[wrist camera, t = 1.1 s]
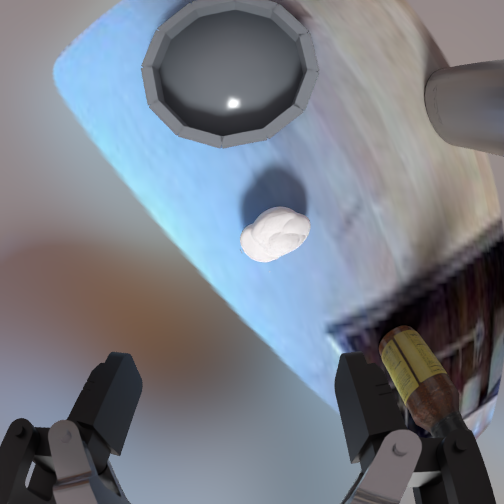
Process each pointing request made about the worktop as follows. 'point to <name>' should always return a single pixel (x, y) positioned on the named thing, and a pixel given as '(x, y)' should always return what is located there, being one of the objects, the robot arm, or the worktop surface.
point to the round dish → (229, 71)
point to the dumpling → (274, 234)
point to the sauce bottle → (421, 382)
